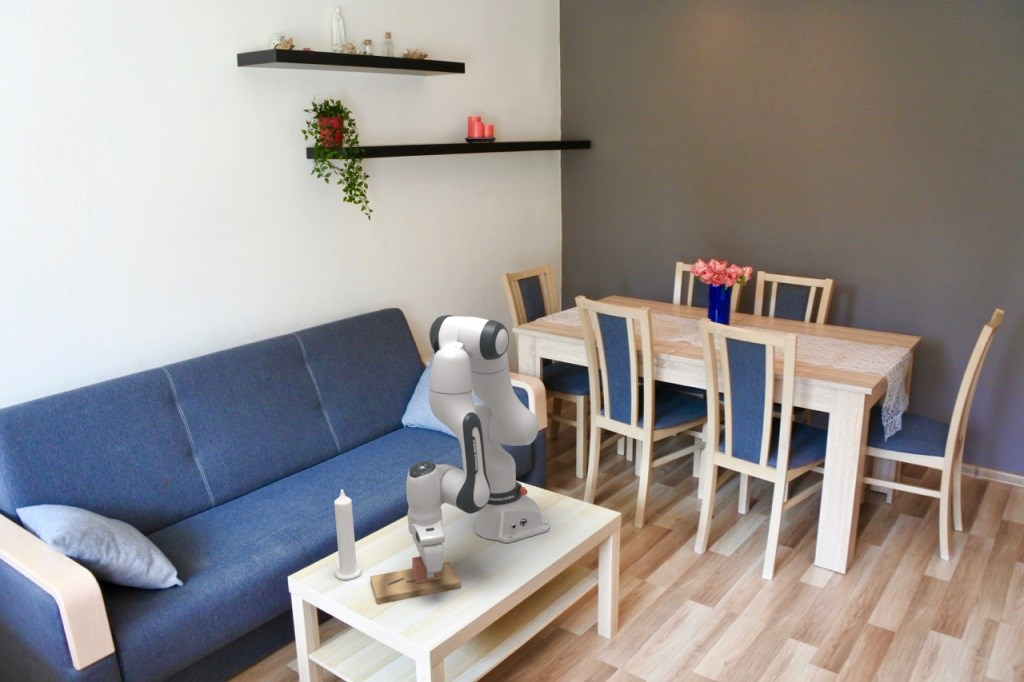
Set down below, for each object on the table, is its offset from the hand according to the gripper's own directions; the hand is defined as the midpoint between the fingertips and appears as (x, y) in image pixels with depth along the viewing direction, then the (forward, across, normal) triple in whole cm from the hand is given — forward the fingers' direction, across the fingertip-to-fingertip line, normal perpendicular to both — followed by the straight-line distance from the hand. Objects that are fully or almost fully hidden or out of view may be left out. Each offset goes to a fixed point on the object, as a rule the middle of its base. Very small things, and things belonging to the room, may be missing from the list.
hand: (427, 570), depth 215 cm
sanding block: (+2, 0, 0) cm, 2 cm away
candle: (+4, -12, -19) cm, 23 cm away
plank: (+4, 0, -3) cm, 5 cm away
